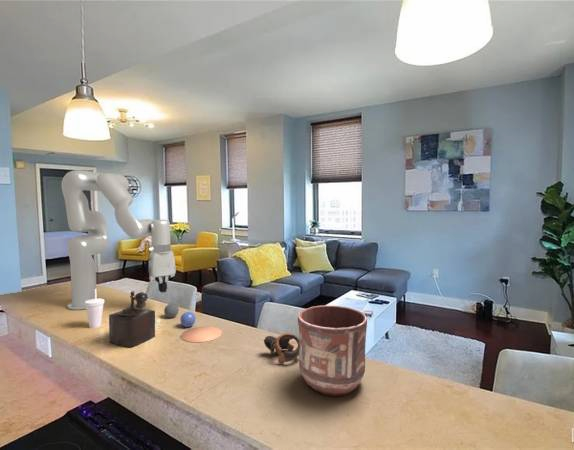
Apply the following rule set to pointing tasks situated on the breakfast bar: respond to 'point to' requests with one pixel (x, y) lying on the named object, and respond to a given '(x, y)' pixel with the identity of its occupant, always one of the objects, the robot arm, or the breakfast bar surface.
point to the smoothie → (94, 311)
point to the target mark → (201, 334)
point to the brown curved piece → (283, 346)
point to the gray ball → (171, 310)
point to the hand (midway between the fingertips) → (162, 291)
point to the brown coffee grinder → (132, 323)
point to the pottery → (332, 348)
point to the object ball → (188, 319)
